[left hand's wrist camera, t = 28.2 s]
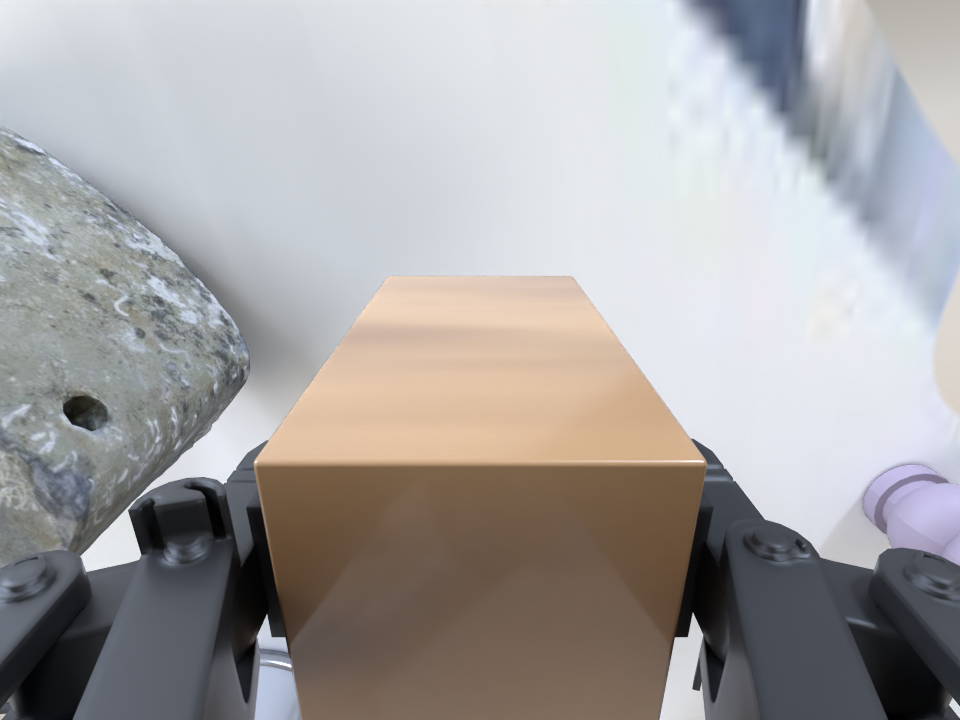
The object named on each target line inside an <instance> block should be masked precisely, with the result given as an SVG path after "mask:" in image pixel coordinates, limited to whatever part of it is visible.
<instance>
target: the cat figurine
mask: <svg viewBox="0 0 960 720" xmlns="http://www.w3.org/2000/svg"><path fill="white" fill-rule="evenodd" d="M863 509H864V512H865V515H866V516H867V517H868V518H869V520H870V521H871V522H872V523H873V524H874V525H876V526H877V527H878V528H879V529H880V530H881V531H882V532H883V533H885V534H887V537H888V540H889V542H890V545H891V548H892V549H894V548H909V549H916V550H922V551H925V552H929V553H931V554H936V555H938V556H941V557H944V558H946V559H947V560H949V561H951V562H953V563H955V564H957V565H959V566H960V485H958V484H951V483H949V482H948V481H947V480H946V479H945V478H943V477H942V476H941V475H939V474H938V473H936V472H935V471H933V470H931V469H929V468H927V467H925V466H922V465H914V464H911V465H904V466H899V467H897V468H894V469H892V470H889V471H887V472H886V473H884V474H883V475H881V476H880V477H878V478H877V479H876V480H875V481H874V482H873V483H872V484H871V486H870V487H869V488H868V490H867V492H866V494H865V496H864V502H863Z"/></svg>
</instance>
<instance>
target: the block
mask: <svg viewBox="0 0 960 720" xmlns="http://www.w3.org/2000/svg"><path fill="white" fill-rule="evenodd" d="M706 469H707V462H706V460H705V458H704V457H703V455H702V454H701V453H700V451H699V450H698V449H697V447H696V446H695V444H694V443H693V442H692V440H691V439H690V438H689V436H688V435H687V433H686V432H685V431H684V429H683V428H682V427H681V425H680V424H679V422H678V421H677V420H676V418H675V417H674V415H673V414H672V413H671V411H670V410H669V409H668V407H667V406H666V404H665V403H664V402H663V400H662V399H661V398H660V396H659V395H658V393H657V392H656V391H655V389H654V388H653V387H652V385H651V384H650V382H649V381H648V380H647V378H646V377H645V375H644V374H643V373H642V371H641V370H640V369H639V367H638V366H637V364H636V363H635V362H634V360H633V359H632V358H631V356H630V355H629V353H628V352H627V351H626V349H625V348H624V347H623V345H622V344H621V342H620V341H619V340H618V338H617V337H616V335H615V334H614V333H613V331H612V330H611V329H610V327H609V326H608V324H607V323H606V322H605V320H604V319H603V318H602V316H601V315H600V313H599V312H598V311H597V309H596V308H595V307H594V305H593V304H592V302H591V301H590V300H589V298H588V297H587V296H586V294H585V293H584V291H583V290H582V289H581V287H580V286H579V284H578V283H577V282H576V280H575V279H574V278H573V277H572V276H388V277H387V278H386V279H385V281H384V282H383V283H382V285H381V286H380V288H379V289H378V290H377V292H376V293H375V294H374V296H373V297H372V299H371V300H370V301H369V303H368V304H367V306H366V307H365V308H364V310H363V311H362V312H361V314H360V315H359V317H358V318H357V319H356V321H355V322H354V324H353V325H352V326H351V328H350V329H349V330H348V332H347V333H346V335H345V336H344V337H343V339H342V340H341V341H340V343H339V344H338V346H337V347H336V348H335V350H334V351H333V353H332V354H331V355H330V357H329V358H328V359H327V361H326V362H325V364H324V365H323V366H322V368H321V369H320V370H319V372H318V373H317V375H316V376H315V377H314V379H313V380H312V382H311V383H310V384H309V386H308V387H307V388H306V390H305V391H304V393H303V394H302V395H301V397H300V398H299V400H298V401H297V402H296V404H295V405H294V406H293V408H292V409H291V411H290V412H289V413H288V415H287V416H286V417H285V419H284V420H283V422H282V423H281V424H280V426H279V427H278V429H277V430H276V431H275V433H274V434H273V435H272V437H271V438H270V440H269V441H268V442H267V444H266V445H265V446H264V448H263V449H262V451H261V452H260V453H259V455H258V456H257V458H256V459H255V461H254V471H255V476H256V481H257V487H258V492H259V497H260V503H261V508H262V513H263V519H264V524H265V530H266V535H267V540H268V546H269V551H270V556H271V562H272V567H273V572H274V578H275V583H276V588H277V594H278V599H279V605H280V610H281V615H282V621H283V626H284V631H285V637H286V642H287V647H288V653H289V658H290V664H291V669H292V674H293V680H294V685H295V690H296V696H297V701H298V706H299V712H300V717H301V720H659V718H660V713H661V708H662V702H663V697H664V692H665V687H666V681H667V676H668V671H669V665H670V660H671V655H672V649H673V644H674V639H675V634H676V628H677V623H678V618H679V612H680V607H681V602H682V596H683V591H684V586H685V580H686V575H687V570H688V565H689V559H690V554H691V549H692V543H693V538H694V533H695V527H696V522H697V517H698V511H699V506H700V501H701V496H702V490H703V485H704V480H705V474H706Z"/></svg>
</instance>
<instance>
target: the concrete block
mask: <svg viewBox="0 0 960 720" xmlns="http://www.w3.org/2000/svg"><path fill="white" fill-rule="evenodd" d="M249 373H250V360H249V351H248V349H247V347H246V344H245V341H244V339H243V337H242V335H241V334H240V332H239V330H238V328H237V326H236V324H235V323H234V321H233V320H232V318H231V317H230V316H229V314H228V313H227V312H226V311H225V310H224V309H223V307H222V306H221V305H220V304H219V303H218V301H217V300H216V298H215V297H214V295H213V294H212V293H211V292H210V291H209V290H208V289H206V288H205V286H204V285H203V283H202V282H201V281H200V280H199V279H198V278H197V277H196V276H195V275H194V274H193V273H192V272H191V271H190V270H189V269H188V268H187V266H186V265H185V264H184V263H183V262H182V260H181V259H180V258H179V256H178V255H177V254H176V253H174V252H173V251H172V250H171V249H169V248H168V247H167V246H166V245H165V244H163V243H162V241H161V239H160V238H158V237H157V236H156V235H154V234H153V233H151V232H150V231H149V230H148V229H146V228H145V227H144V226H143V225H141V224H140V223H139V222H138V221H137V220H135V219H134V218H133V217H132V216H131V215H129V214H128V213H127V212H125V211H124V210H123V209H121V208H120V207H119V206H117V205H116V204H114V203H113V202H112V201H111V200H109V199H108V198H107V197H105V196H104V195H103V194H101V193H100V192H99V191H97V190H96V189H95V188H94V187H92V186H91V185H90V184H89V183H87V182H86V181H85V180H84V179H82V178H81V177H80V176H78V175H77V174H76V173H74V172H73V171H72V170H70V169H69V168H68V167H66V166H65V165H63V164H62V163H61V162H59V161H58V160H56V159H55V158H54V157H52V156H51V155H49V154H48V153H47V152H45V151H44V150H43V149H41V148H40V147H38V146H37V145H35V144H33V143H31V142H29V141H27V140H26V139H24V138H22V137H20V136H19V135H17V134H15V133H13V132H12V131H10V130H8V129H7V128H5V127H3V126H1V125H0V568H2V567H4V566H6V565H8V564H10V563H12V562H14V561H16V560H18V559H21V558H23V557H27V556H29V555H33V554H36V553H40V552H47V551H53V550H64V551H72V552H74V553H75V554H77V555H78V556H79V557H80V556H81V555H82V554H83V553H84V552H85V551H86V550H87V549H88V548H89V547H90V546H91V545H92V544H93V543H94V541H95V540H96V539H97V538H98V537H99V536H100V535H101V534H102V533H103V532H104V531H105V530H106V529H107V528H108V527H109V526H110V525H111V524H112V523H113V522H114V521H115V520H116V519H117V518H118V517H119V516H120V514H121V513H122V512H123V511H124V510H125V509H126V508H127V507H128V506H129V505H130V504H131V503H132V502H133V501H134V500H135V499H136V498H137V497H138V496H139V495H140V494H141V493H142V492H143V491H144V490H145V489H146V488H147V487H148V486H149V485H150V484H151V483H152V482H153V481H154V480H155V479H157V478H158V477H159V476H161V475H162V474H163V473H164V472H165V471H166V470H167V469H168V468H169V467H170V466H172V465H173V464H174V463H175V462H176V461H177V460H178V459H179V457H180V456H181V455H182V454H183V453H184V452H185V451H187V450H188V449H190V448H191V447H193V444H194V443H195V442H196V441H198V440H199V439H200V438H202V437H203V436H204V435H206V434H207V433H208V432H209V431H210V430H211V427H212V424H213V423H214V422H215V421H216V420H217V419H218V418H219V416H220V415H221V414H222V413H223V411H224V410H225V409H226V408H227V406H228V405H229V404H230V403H231V401H232V400H233V399H234V397H235V396H236V395H237V393H238V392H239V391H240V389H241V388H242V387H243V385H244V384H245V382H246V380H247V378H248V375H249Z"/></svg>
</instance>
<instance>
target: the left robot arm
mask: <svg viewBox="0 0 960 720" xmlns="http://www.w3.org/2000/svg"><path fill="white" fill-rule="evenodd" d="M691 440H692V442H693V443H694V444H695V446H696V447H697V449H698V450H699V451H700V453H701V454H702V455H703V457H704V458H705V460H706V462H707V469H706V474H705V480H704V485H703V490H702V496H701V501H700V506H699V511H698V517H697V522H696V527H695V533H694V538H693V543H692V549H691V554H690V559H689V565H688V570H687V575H686V580H685V586H684V591H683V596H682V602H681V607H680V612H679V618H678V623H677V628H676V634H675V637H688V633H689V628H690V623H691V618H692V613H694V615H695V617H696V620H697V622H698V624H699V626H700V628H701V630H702V633H703V639H702V644H701V649H700V653H699V658H698V663H697V667H696V672H695V677H694V683H693V689H694V690H698V691H700V686H701V682H702V688H703V698H704V708H705V718H706V720H960V718H959V717H958V716H957V715H956V713H955V712H954V711H953V710H952V708H951V707H950V706H949V704H950V702H951V700H952V697H953V698H954V700H955V701H956V702H957V703H958V705H959V706H960V566H959V565H957V564H955V563H953V562H951V561H949V560H947V559H946V558H944V557H941V556H938V555H936V554H931V553H929V552H925V551H922V550H916V549H909V548H894V549H887V550H886V551H884V552H883V553H882V554H880V555H879V558H878V560H877V563H876V566H875V569H874V570H871V569H867V568H862V567H858V566H853V565H848V564H844V563H839V562H834V561H830V560H827V559H823V558H820V556H819V554H818V553H817V551H816V550H815V549H814V547H813V546H812V544H811V543H810V542H809V541H808V540H806V539H805V538H804V537H802V536H801V535H800V534H799V533H797V532H796V531H793V530H791V529H789V528H787V527H785V526H783V525H781V524H778V523H775V522H771V521H767V520H765V519H764V518H763V517H762V515H761V514H760V513H759V511H758V510H757V509H756V508H755V506H754V505H753V504H752V502H751V501H750V500H749V498H748V497H747V496H746V495H745V493H744V492H743V491H742V489H741V488H740V487H739V485H738V484H737V483H736V482H735V481H733V478H732V476H731V475H730V474H729V472H728V471H727V470H726V469H724V466H723V465H722V463H721V462H720V461H719V459H718V458H717V457H716V456H715V454H714V453H713V452H712V451H711V450H709V449H708V448H706V447H705V446H703V445H702V444H700V443H699V442H697V441H696V440H694V439H691ZM268 441H269V440H267V441H265V442H264V443H262V444H261V445H259V446H258V447H256V448H255V449H253V450H252V451H250V452H249V453H247V455H246V456H245V457H244V458H243V460H242V461H241V462H240V464H239V465H238V466H237V468H236V471H234V472H233V473H232V474H231V476H230V477H229V478H228V479H227V483H224V485H223V484H221V483H220V482H219V481H218V480H215V479H210V478H205V477H198V478H185V479H181V480H177V481H173V482H169V483H167V484H164V485H162V486H160V487H157V488H155V489H152V490H151V491H149V492H148V493H146V494H145V495H143V496H142V497H140V498H139V499H137V500H136V502H135V503H134V504H133V505H132V506H131V508H130V509H129V510H128V512H129V515H130V518H131V522H132V525H133V528H134V531H135V535H136V538H137V541H138V545H139V548H140V551H141V557H140V560H138V561H134V562H131V563H127V564H122V565H117V566H113V567H108V568H104V569H99V570H94V571H90V572H86V570H85V567H84V565H83V562H82V559H81V557H79V556H78V555H77V554H75V553H74V552H72V551H64V550H53V551H47V552H40V553H36V554H33V555H29V556H27V557H23V558H21V559H18V560H16V561H14V562H12V563H10V564H8V565H6V566H4V567H2V568H0V714H5V713H7V714H6V715H5V716H4V717H3V719H2V720H301V717H300V712H299V706H298V701H297V696H296V690H295V685H294V680H293V674H292V669H291V664H290V658H289V654H288V653H284V652H279V651H273V650H259V644H258V639H257V635H258V632H259V630H260V628H261V626H262V624H263V621H264V619H265V617H266V615H268V620H269V625H270V630H271V635H272V637H285V631H284V626H283V621H282V615H281V610H280V605H279V599H278V594H277V588H276V583H275V578H274V572H273V567H272V562H271V556H270V551H269V546H268V540H267V535H266V530H265V524H264V519H263V513H262V508H261V503H260V497H259V492H258V487H257V481H256V476H255V471H254V461H255V459H256V458H257V456H258V455H259V453H260V452H261V451H262V449H263V448H264V446H265V445H266V444H267V442H268ZM7 701H9V703H6V702H7Z"/></svg>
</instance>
